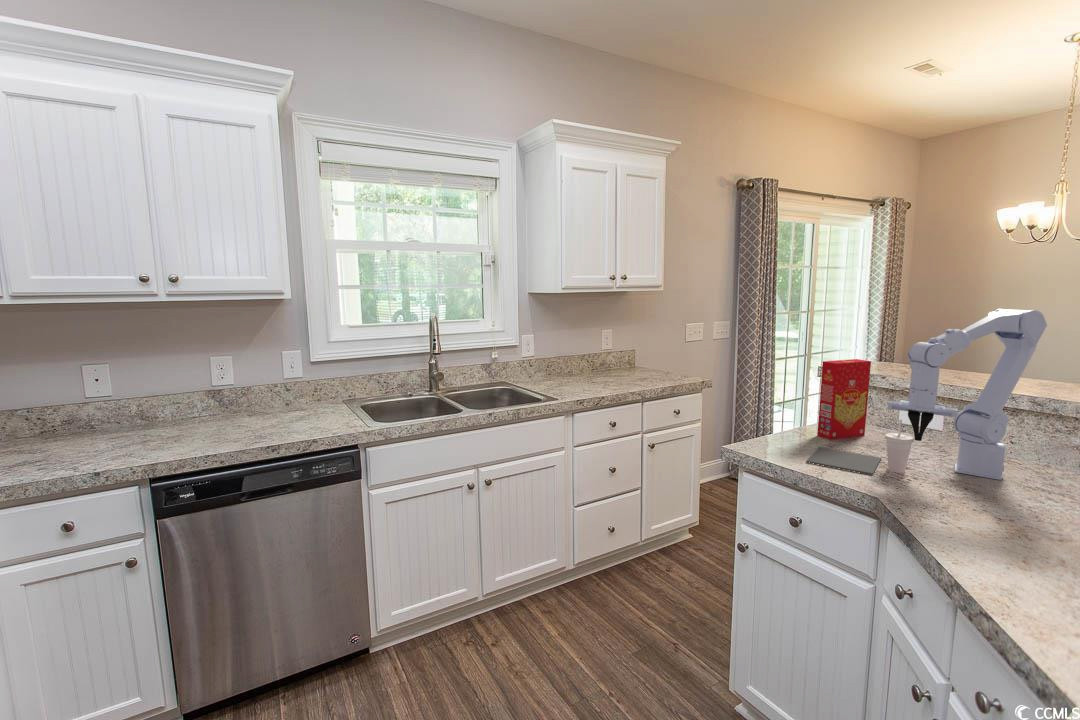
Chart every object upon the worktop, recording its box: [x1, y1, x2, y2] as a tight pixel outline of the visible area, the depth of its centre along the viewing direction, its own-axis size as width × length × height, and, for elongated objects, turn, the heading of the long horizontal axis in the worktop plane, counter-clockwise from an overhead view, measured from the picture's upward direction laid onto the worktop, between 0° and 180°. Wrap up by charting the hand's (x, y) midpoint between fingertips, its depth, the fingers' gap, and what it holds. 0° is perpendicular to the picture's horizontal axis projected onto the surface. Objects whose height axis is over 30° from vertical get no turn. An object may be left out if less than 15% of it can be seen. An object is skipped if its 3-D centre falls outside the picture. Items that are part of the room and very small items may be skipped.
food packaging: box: [816, 358, 872, 441], centre depth 171 cm, size 15×5×25 cm, turn 109°
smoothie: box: [884, 419, 915, 474], centre depth 139 cm, size 6×6×14 cm
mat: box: [805, 446, 882, 476], centre depth 148 cm, size 16×16×1 cm
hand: (918, 439), depth 136 cm, fingers closed
